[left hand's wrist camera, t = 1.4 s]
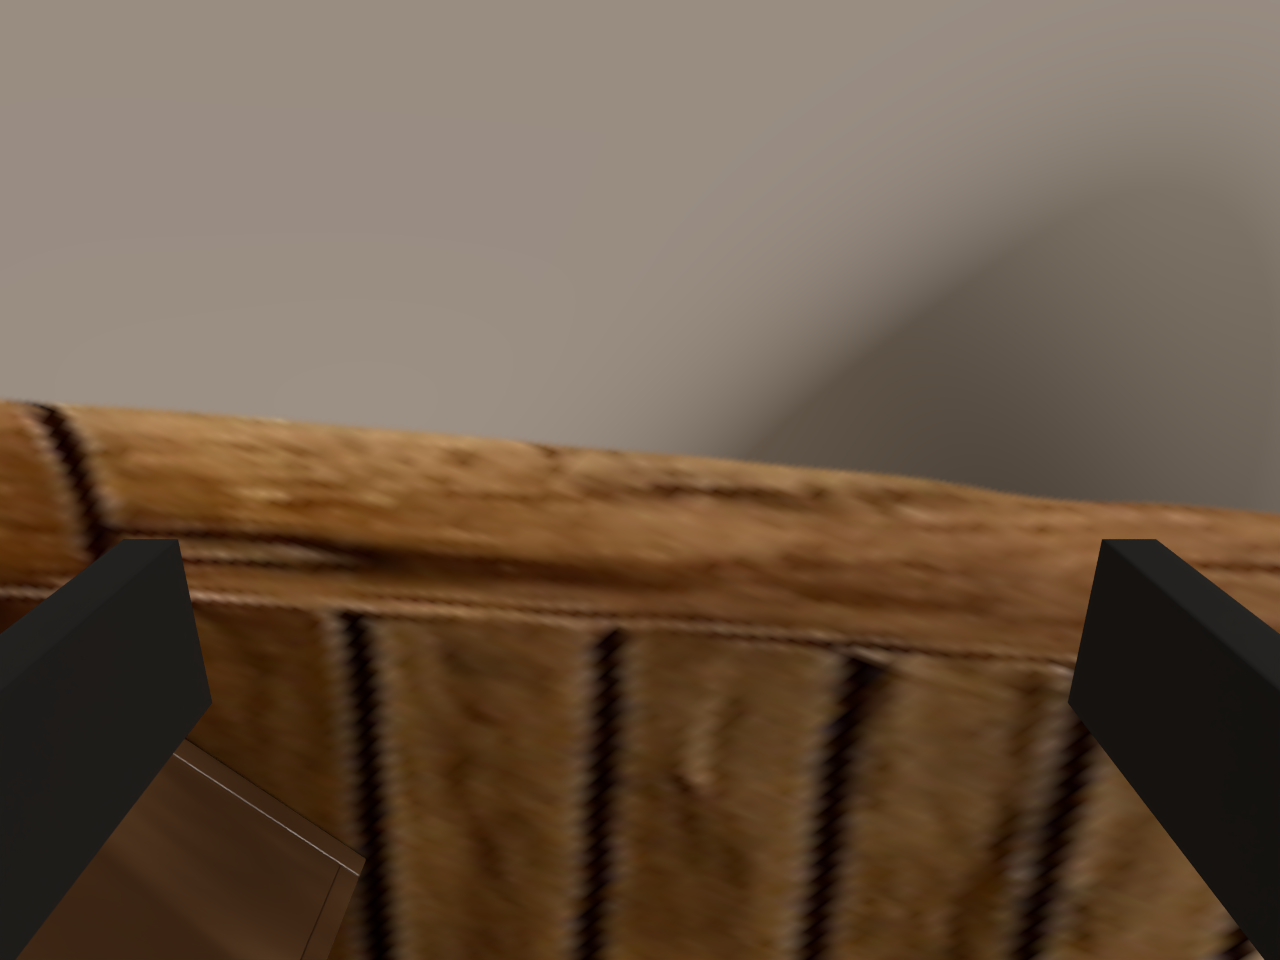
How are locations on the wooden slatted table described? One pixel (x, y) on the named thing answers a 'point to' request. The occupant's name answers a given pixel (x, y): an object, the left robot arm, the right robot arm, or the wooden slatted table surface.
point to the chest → (204, 877)
